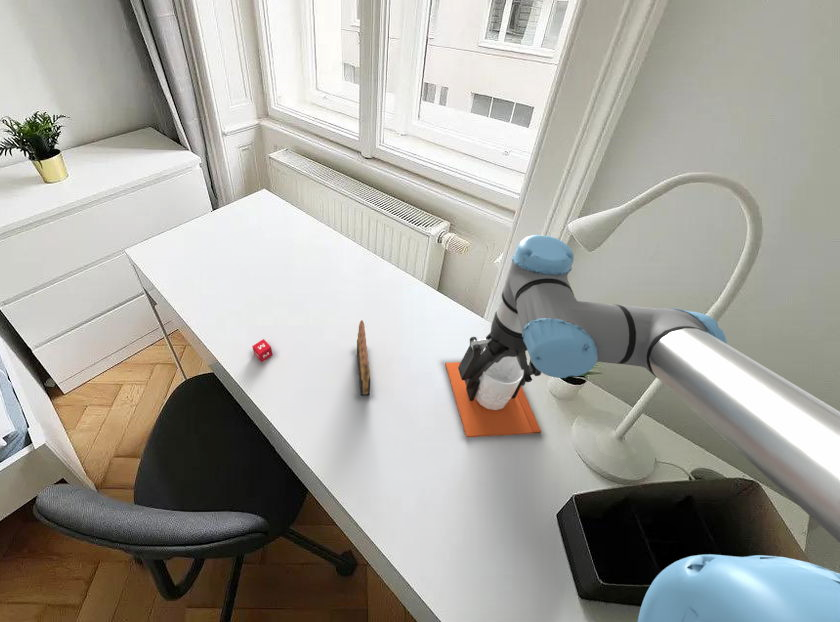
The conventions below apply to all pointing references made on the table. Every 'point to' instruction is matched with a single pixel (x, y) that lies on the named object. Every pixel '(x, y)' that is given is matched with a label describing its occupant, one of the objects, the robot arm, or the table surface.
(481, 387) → the white cup
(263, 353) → the dice
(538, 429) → the folder
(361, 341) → the ammunition clip
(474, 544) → the table surface
